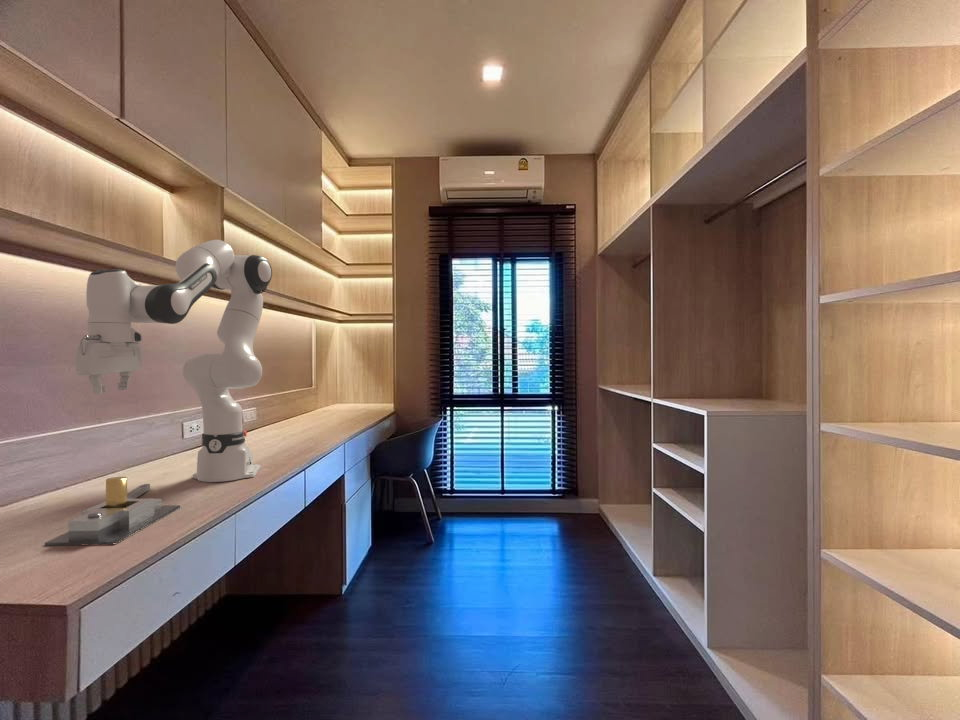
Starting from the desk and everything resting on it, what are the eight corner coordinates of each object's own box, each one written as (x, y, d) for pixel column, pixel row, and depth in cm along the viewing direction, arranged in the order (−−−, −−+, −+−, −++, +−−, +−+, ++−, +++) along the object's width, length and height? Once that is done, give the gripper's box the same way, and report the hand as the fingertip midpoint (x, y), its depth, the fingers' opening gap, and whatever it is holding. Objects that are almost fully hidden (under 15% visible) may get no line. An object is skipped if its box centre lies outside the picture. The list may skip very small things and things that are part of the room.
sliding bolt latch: (123, 508, 135) (122, 488, 135) (180, 507, 136) (179, 488, 136) (44, 545, 109) (44, 521, 109) (115, 544, 110) (115, 520, 110)
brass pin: (111, 519, 124) (111, 476, 124) (130, 519, 125) (130, 476, 125) (102, 525, 120) (102, 481, 120) (122, 524, 121) (122, 480, 121)
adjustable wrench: (141, 490, 154) (140, 483, 154) (165, 486, 155) (165, 480, 155) (96, 514, 129) (95, 506, 129) (125, 510, 131) (125, 502, 131)
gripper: (95, 334, 121) (97, 395, 121) (146, 335, 141) (147, 387, 141) (66, 334, 120) (68, 396, 121) (121, 335, 141) (123, 388, 141)
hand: (111, 391), depth 131 cm, fingers open, 8 cm apart
